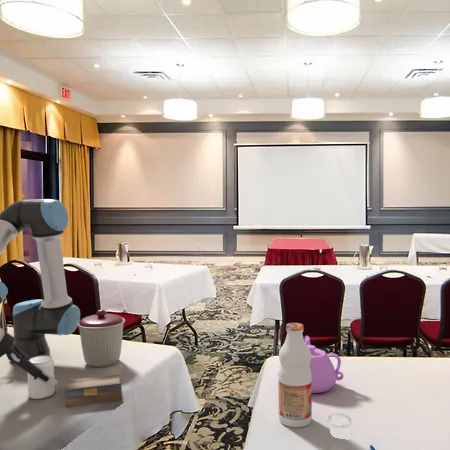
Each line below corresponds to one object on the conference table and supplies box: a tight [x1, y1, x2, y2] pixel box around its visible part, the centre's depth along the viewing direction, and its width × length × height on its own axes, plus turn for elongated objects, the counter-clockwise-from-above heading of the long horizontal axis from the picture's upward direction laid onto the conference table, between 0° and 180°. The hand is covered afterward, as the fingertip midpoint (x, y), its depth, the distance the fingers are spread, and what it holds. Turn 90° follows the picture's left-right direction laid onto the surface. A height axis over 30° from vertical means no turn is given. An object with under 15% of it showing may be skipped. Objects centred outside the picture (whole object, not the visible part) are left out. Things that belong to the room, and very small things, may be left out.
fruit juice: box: [277, 322, 313, 429], centre depth 134 cm, size 9×9×28 cm
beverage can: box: [27, 355, 56, 400], centre depth 154 cm, size 8×8×12 cm
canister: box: [77, 309, 126, 368], centre depth 183 cm, size 18×18×21 cm
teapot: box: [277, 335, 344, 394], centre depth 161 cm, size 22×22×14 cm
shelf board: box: [64, 373, 123, 408], centre depth 155 cm, size 16×17×6 cm
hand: (52, 380), depth 156 cm, fingers open, 7 cm apart
